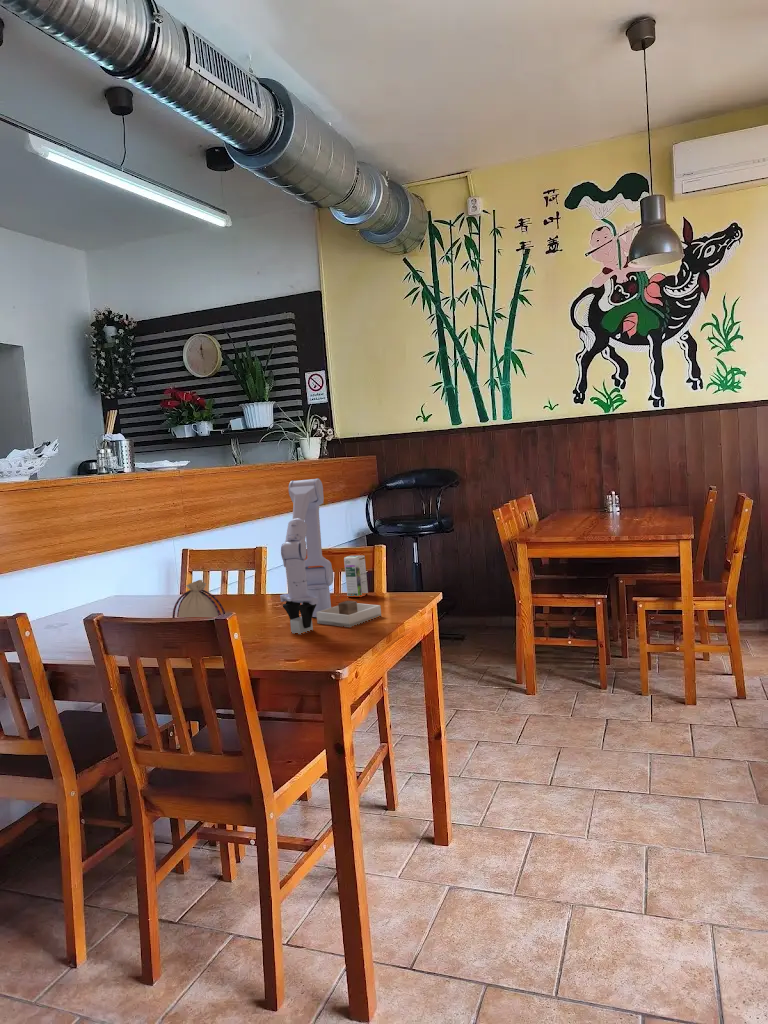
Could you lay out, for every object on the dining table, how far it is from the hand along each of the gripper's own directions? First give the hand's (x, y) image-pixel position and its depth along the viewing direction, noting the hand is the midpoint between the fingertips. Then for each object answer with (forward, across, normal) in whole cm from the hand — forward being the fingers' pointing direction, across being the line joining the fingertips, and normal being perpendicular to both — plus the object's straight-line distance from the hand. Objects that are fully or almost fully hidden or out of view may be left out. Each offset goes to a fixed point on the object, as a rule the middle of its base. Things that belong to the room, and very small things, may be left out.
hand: (301, 626), depth 216 cm
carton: (+2, 0, 0) cm, 2 cm away
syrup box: (+2, -19, +44) cm, 48 cm away
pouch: (+2, -16, -24) cm, 29 cm away
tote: (+1, +4, +16) cm, 17 cm away
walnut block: (0, +4, +16) cm, 16 cm away
